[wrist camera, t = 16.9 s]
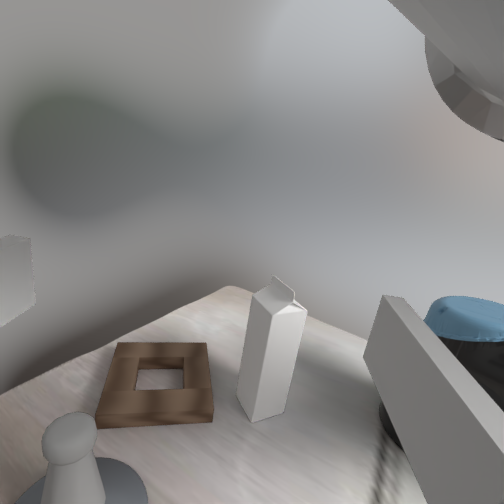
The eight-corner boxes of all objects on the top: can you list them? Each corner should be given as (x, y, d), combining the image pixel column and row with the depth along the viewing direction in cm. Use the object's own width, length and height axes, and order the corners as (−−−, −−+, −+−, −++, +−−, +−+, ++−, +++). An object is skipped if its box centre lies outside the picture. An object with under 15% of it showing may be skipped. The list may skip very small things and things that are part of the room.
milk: (251, 424, 48) (275, 295, 41) (235, 395, 53) (254, 275, 45) (284, 413, 51) (313, 290, 43) (266, 386, 56) (288, 272, 48)
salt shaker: (25, 552, 29) (11, 450, 25) (63, 489, 35) (57, 396, 31) (87, 562, 29) (83, 462, 25) (115, 497, 35) (117, 406, 30)
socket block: (205, 353, 62) (206, 342, 61) (212, 422, 47) (213, 409, 46) (117, 353, 58) (117, 342, 57) (95, 429, 43) (95, 415, 42)
